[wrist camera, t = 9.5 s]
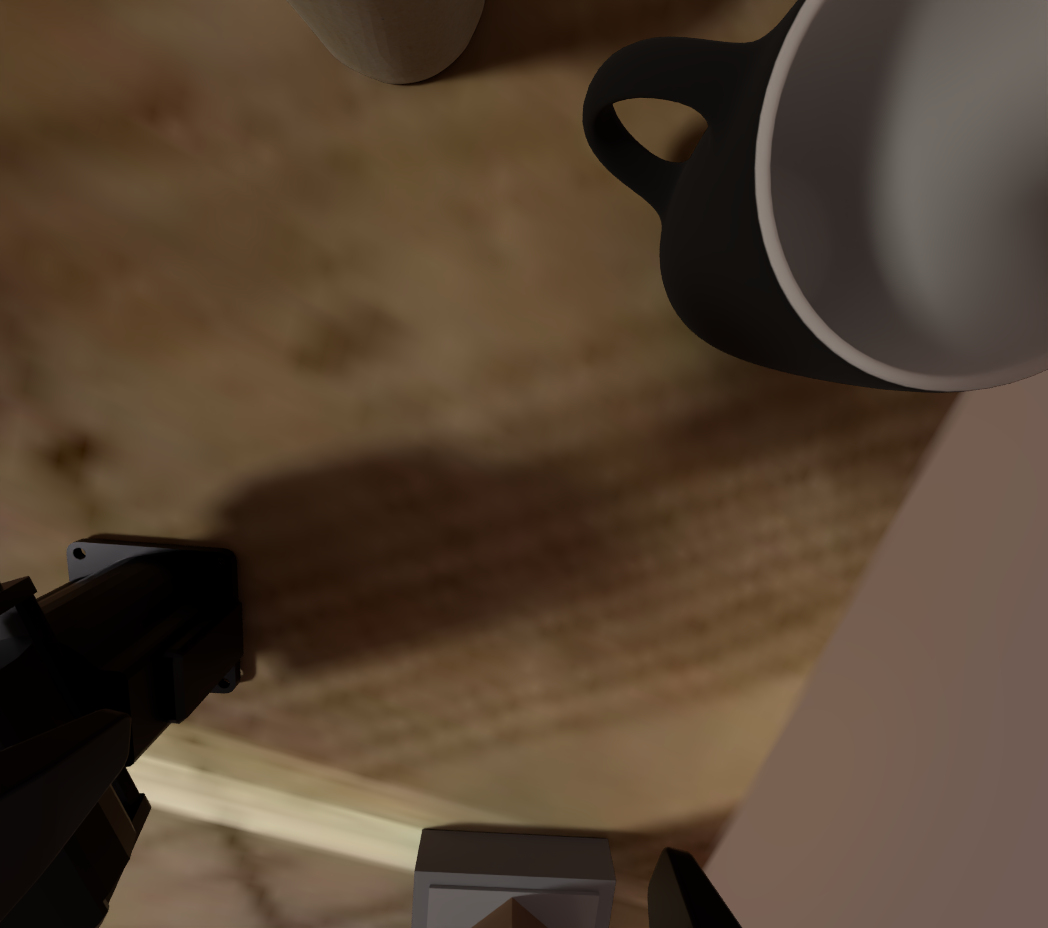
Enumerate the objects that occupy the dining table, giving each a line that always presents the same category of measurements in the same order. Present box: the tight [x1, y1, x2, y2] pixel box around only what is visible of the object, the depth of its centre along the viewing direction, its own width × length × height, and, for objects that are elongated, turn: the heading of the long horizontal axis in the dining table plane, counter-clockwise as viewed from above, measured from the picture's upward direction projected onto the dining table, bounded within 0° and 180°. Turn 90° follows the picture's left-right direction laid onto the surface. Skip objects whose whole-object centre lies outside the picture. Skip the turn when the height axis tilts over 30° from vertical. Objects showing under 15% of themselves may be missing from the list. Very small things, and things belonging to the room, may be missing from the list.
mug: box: [582, 0, 1048, 393], centre depth 14 cm, size 12×9×10 cm
